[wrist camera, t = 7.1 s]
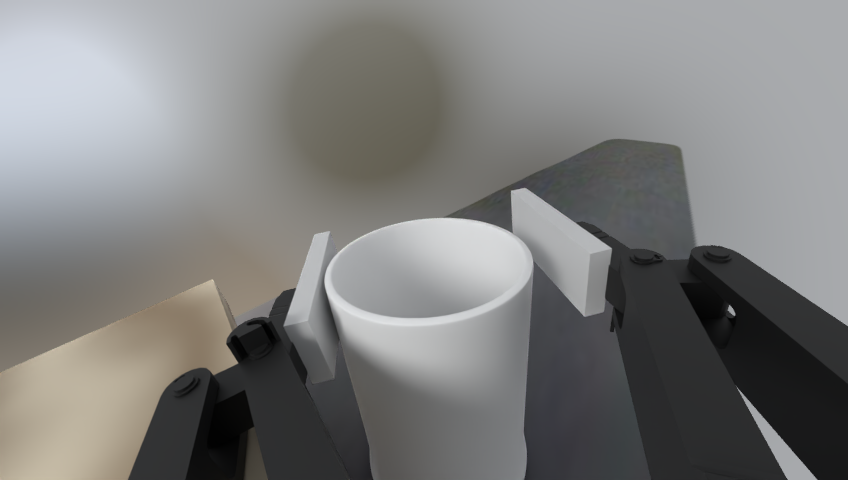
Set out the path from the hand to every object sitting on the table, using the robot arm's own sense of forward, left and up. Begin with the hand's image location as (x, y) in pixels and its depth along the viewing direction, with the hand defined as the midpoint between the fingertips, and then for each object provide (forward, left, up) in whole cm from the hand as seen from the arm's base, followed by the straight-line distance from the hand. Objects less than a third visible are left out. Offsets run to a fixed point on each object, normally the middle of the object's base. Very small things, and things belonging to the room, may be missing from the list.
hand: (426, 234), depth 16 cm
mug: (+1, -3, -11) cm, 12 cm away
